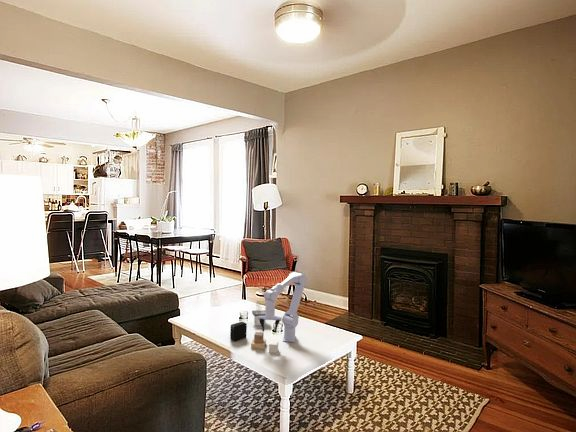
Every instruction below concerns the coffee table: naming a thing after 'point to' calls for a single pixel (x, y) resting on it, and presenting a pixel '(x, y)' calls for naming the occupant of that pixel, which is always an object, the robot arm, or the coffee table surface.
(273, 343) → the grey cube
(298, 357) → the coffee table surface
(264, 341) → the oak base
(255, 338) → the walnut cube
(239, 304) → the coffee table surface
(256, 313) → the oil diffuser
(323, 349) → the coffee table surface
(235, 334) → the electronic device
